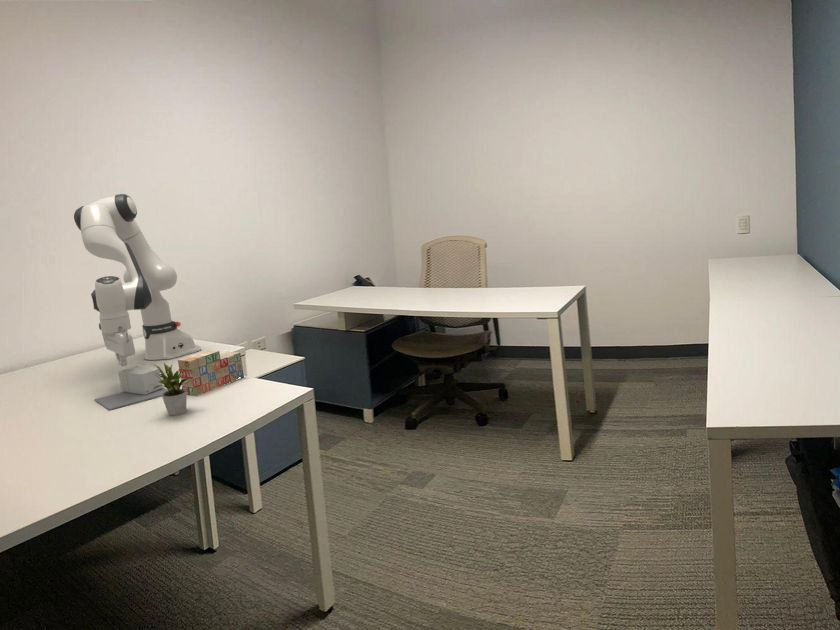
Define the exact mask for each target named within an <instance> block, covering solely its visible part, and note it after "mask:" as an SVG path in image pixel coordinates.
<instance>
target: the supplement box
mask: <svg viewBox="0 0 840 630" xmlns="http://www.w3.org/2000/svg"><path fill="white" fill-rule="evenodd" d="M142 371H143V372H142ZM152 371H153V372H152ZM155 372H156V373H158V374H159V375H160V374H161V372H160V371H159V369H158V368H157V367H151V366H150V367H149V366H143V365H134V366H132V367H129V368H126V369H122V370H119V371H118V378H119V383H120V384H119V385H120V388H121V389H120V391H121V392H130V393H137V394H143V395H146V394H148V393H151V392H153V391H156V390H159V389H162V388H164V384H162V383H160V382H159V381H160V379H161V380H162V379H163V378H161V377H160V376H161V375H160V376H159V375H158V374H156V373H155ZM149 373H151V374H149ZM154 374H155V375H154ZM157 376H158V377H159V378H160V379H159V378H158V377H157ZM151 384H152V385H151ZM158 385H161V386H159V387H157V388H156V389H154V390H153V388H154V387H155V386H158Z"/></svg>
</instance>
